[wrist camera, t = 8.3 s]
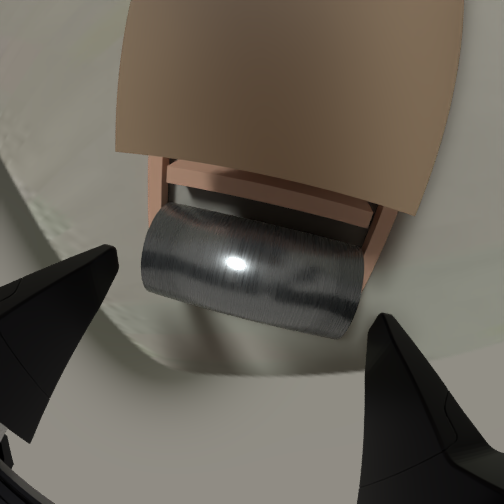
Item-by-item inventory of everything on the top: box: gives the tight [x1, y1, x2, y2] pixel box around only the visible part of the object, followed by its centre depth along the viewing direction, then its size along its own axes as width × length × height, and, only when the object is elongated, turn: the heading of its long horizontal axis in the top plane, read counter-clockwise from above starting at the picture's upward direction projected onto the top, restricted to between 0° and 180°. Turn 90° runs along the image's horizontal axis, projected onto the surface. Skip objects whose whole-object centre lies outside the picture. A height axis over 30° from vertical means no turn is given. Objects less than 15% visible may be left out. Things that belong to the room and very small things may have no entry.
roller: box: [141, 202, 364, 339], centre depth 10 cm, size 4×7×4 cm, turn 81°
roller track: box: [148, 155, 398, 293], centre depth 7 cm, size 9×20×1 cm, turn 170°
